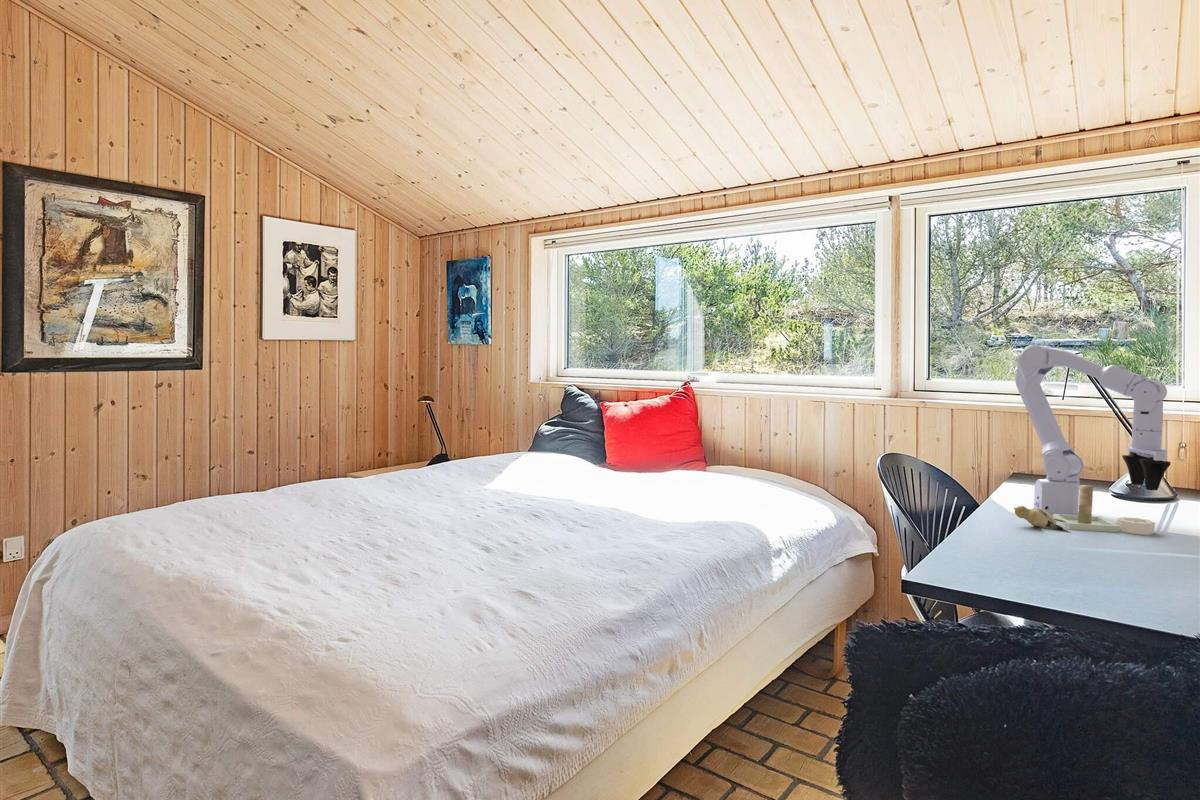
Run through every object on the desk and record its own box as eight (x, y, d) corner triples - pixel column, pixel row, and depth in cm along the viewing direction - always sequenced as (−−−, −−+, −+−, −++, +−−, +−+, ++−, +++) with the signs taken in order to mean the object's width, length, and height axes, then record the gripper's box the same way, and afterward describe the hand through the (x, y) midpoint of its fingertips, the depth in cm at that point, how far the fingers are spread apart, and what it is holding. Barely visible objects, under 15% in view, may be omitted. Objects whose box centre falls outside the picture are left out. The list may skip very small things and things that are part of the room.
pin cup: (1125, 535, 164) (1125, 522, 164) (1113, 529, 171) (1113, 516, 170) (1158, 537, 163) (1158, 524, 163) (1144, 531, 169) (1145, 518, 169)
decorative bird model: (1051, 509, 176) (1013, 498, 176) (1087, 529, 164) (1046, 517, 163) (1044, 525, 177) (1006, 514, 176) (1079, 546, 165) (1039, 535, 164)
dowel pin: (1080, 524, 171) (1082, 486, 171) (1076, 522, 174) (1078, 484, 173) (1092, 525, 171) (1094, 487, 170) (1088, 523, 173) (1090, 485, 173)
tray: (1068, 531, 168) (1069, 523, 168) (1052, 521, 179) (1053, 513, 179) (1118, 534, 166) (1119, 526, 166) (1099, 523, 176) (1099, 516, 176)
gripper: (1182, 433, 165) (1179, 493, 166) (1152, 428, 179) (1149, 483, 180) (1146, 432, 167) (1143, 491, 167) (1119, 427, 181) (1116, 481, 181)
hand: (1144, 487), depth 174 cm, fingers open, 7 cm apart
